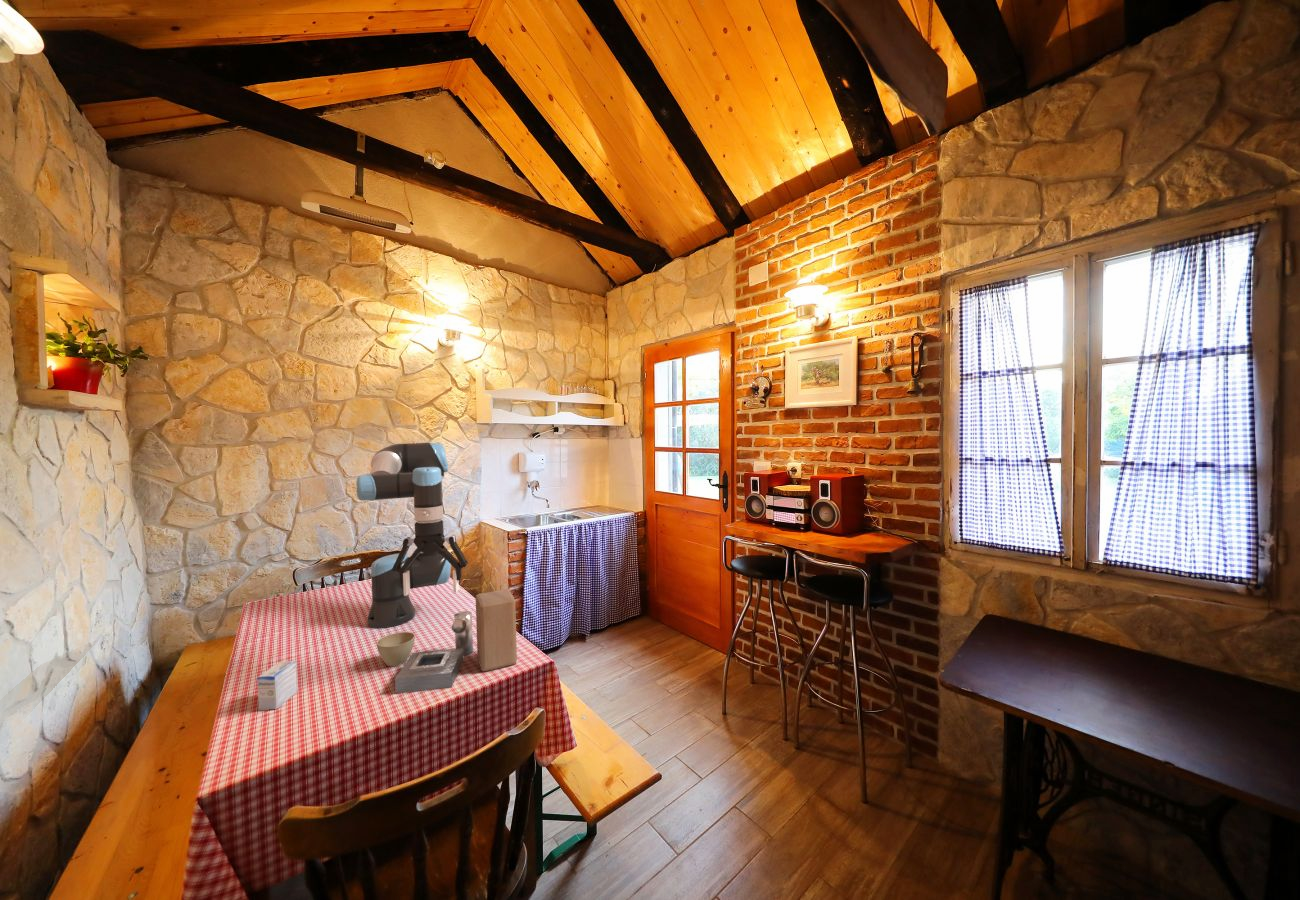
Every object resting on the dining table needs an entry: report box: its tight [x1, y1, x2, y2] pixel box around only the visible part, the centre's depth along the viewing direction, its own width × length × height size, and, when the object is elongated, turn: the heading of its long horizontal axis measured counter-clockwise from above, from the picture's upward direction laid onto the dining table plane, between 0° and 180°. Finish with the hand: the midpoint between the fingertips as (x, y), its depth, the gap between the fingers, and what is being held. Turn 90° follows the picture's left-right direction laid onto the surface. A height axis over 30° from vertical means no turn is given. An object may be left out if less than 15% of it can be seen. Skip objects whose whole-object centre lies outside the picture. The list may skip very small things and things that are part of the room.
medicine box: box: [256, 660, 299, 711], centre depth 118 cm, size 8×4×9 cm, turn 5°
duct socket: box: [394, 648, 464, 694], centre depth 129 cm, size 14×14×5 cm
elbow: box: [451, 610, 474, 657], centre depth 141 cm, size 8×5×12 cm, turn 10°
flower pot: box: [376, 631, 416, 667], centre depth 137 cm, size 10×10×7 cm
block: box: [475, 588, 518, 672], centre depth 136 cm, size 10×10×20 cm
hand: (431, 592), depth 134 cm, fingers open, 13 cm apart
